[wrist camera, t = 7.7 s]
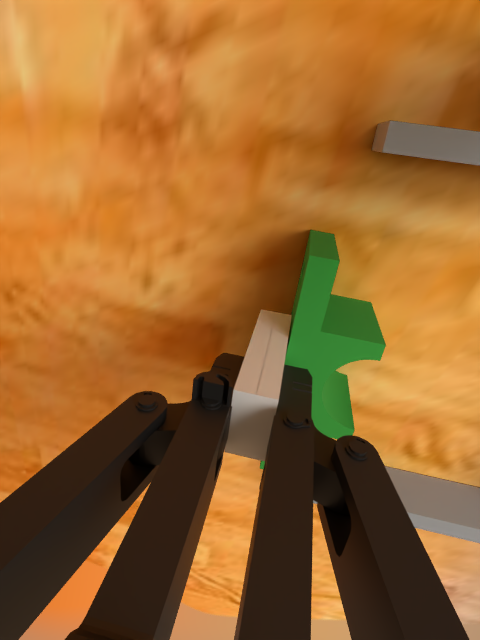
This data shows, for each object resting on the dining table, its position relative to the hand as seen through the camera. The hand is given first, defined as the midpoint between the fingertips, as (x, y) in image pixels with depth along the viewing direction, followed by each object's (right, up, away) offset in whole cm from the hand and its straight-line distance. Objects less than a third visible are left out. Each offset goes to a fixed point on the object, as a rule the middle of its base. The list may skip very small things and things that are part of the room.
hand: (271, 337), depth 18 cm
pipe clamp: (+3, 0, +2) cm, 3 cm away
